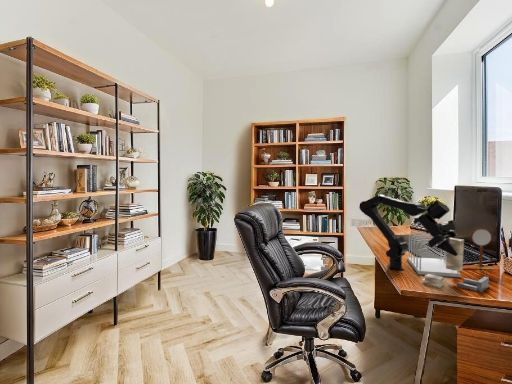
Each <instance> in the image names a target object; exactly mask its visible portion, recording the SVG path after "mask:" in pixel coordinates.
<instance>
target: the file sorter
mask: <svg viewBox="0 0 512 384" xmlns="http://www.w3.org/2000/svg"><path fill="white" fill-rule="evenodd" d="M413 234H415V235H413ZM411 235H412V236H411ZM415 237H416V238H415ZM413 238H414V239H413ZM432 238H433V237H432V236H431V235H430V234H429V233H428V234H427V233H426V232H411V233H410V234H409V236H408V256H406V261H408V262H409V264H410V265H411V267H412V268H413V269H414V271H415V272H416V273H417V274H418V275H421V276H423V275H424V276H425V275H427V274H432V275H436V276H441V277H451V278H461V277H462V275H461V274H462V273H460V271H455V270H451V269H446V253H447V252H446V251H444V250H441V249H440V258H431V257H422V247H423V246H424V245H428V241H429V240H431V239H432ZM418 239H420V240H418ZM416 241H417V243H415V242H416ZM420 242H422V243H421V244H420V246H419V243H420ZM415 244H416V245H415ZM418 246H419V247H418ZM415 247H416V248H415ZM418 248H419V249H418ZM418 250H419V252H418ZM443 251H444V258H443ZM418 253H419V254H418ZM418 255H419V256H418Z"/></svg>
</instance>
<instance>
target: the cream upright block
mask: <svg viewBox="0 0 512 384" xmlns="http://www.w3.org/2000/svg"><path fill="white" fill-rule="evenodd" d="M449 243H450V245H451V246H452V247H453V249H454V250H455V251H456V253H457V254H458V255H457V256H454V255H452V254H450V253H448V252H446V269H451V270H455V271H459V272H460V271H463V268H464V247H465V239H461V238H457V237H456V238H449Z"/></svg>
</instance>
